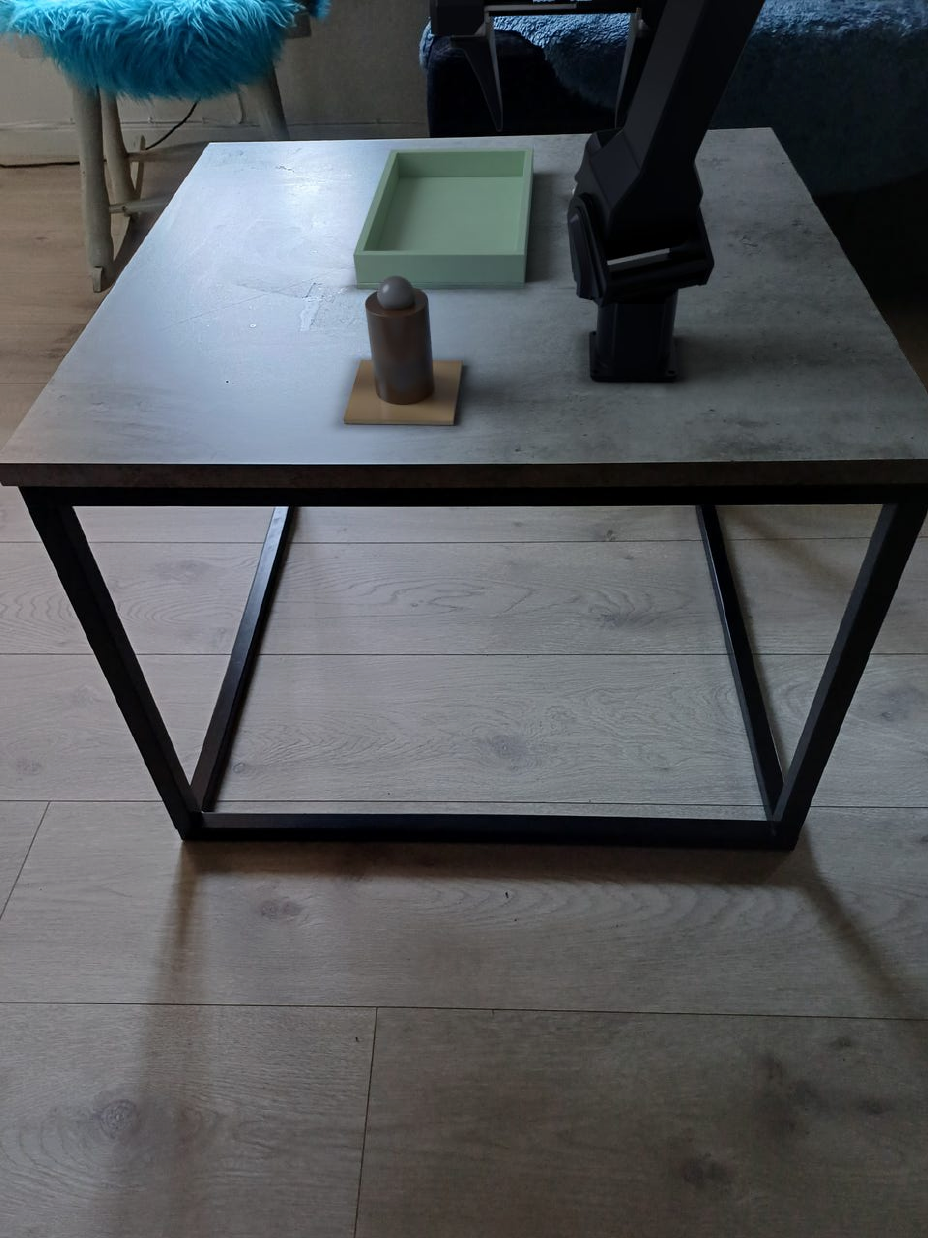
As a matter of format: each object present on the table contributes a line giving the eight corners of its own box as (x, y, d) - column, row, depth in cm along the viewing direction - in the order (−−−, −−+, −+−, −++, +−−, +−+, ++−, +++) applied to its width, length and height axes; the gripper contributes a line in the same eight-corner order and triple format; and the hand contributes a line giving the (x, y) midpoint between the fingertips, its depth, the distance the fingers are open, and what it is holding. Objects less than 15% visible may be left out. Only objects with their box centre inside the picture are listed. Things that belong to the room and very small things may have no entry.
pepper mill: (431, 405, 68) (422, 293, 62) (371, 404, 69) (357, 293, 62) (437, 372, 71) (429, 262, 65) (380, 372, 72) (367, 262, 65)
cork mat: (453, 425, 67) (453, 420, 67) (343, 423, 68) (342, 418, 67) (462, 364, 73) (462, 360, 72) (361, 364, 73) (360, 359, 73)
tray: (524, 289, 80) (524, 254, 78) (357, 288, 82) (352, 254, 80) (533, 178, 97) (533, 147, 94) (393, 180, 98) (390, 148, 96)
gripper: (697, -149, 67) (670, 90, 78) (437, -139, 68) (448, 95, 80) (714, -120, 59) (682, 141, 71) (421, -110, 61) (436, 144, 72)
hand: (558, 128), depth 73 cm, fingers open, 9 cm apart
